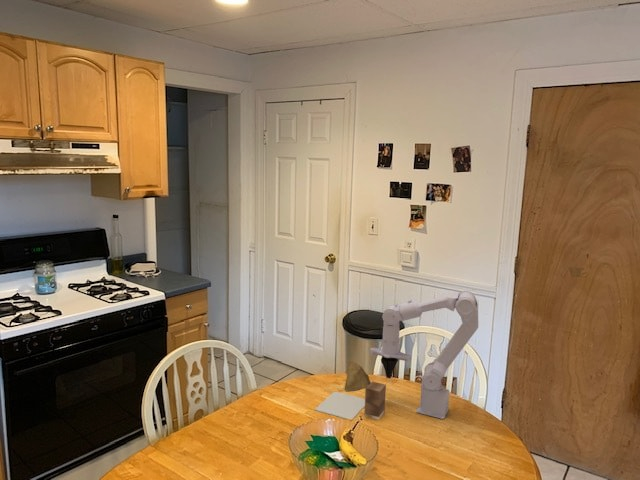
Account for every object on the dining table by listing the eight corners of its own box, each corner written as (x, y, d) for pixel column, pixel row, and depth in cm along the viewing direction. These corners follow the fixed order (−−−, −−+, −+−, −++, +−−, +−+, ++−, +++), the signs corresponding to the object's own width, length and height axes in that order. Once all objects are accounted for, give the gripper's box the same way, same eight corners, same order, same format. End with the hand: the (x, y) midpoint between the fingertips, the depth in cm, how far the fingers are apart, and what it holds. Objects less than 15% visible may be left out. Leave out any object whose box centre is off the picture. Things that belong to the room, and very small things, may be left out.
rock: (372, 375, 189) (347, 370, 190) (375, 364, 183) (349, 359, 184) (368, 401, 182) (342, 395, 183) (371, 390, 176) (344, 384, 177)
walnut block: (384, 412, 165) (385, 384, 164) (378, 420, 160) (379, 391, 158) (371, 408, 167) (372, 381, 166) (364, 416, 162) (365, 388, 161)
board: (369, 400, 173) (369, 400, 173) (351, 420, 159) (351, 419, 159) (334, 392, 179) (334, 391, 179) (314, 410, 165) (314, 409, 165)
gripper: (367, 339, 168) (365, 376, 170) (407, 347, 161) (405, 385, 163) (374, 334, 174) (373, 369, 176) (413, 341, 167) (411, 378, 169)
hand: (389, 377), depth 170 cm, fingers closed
